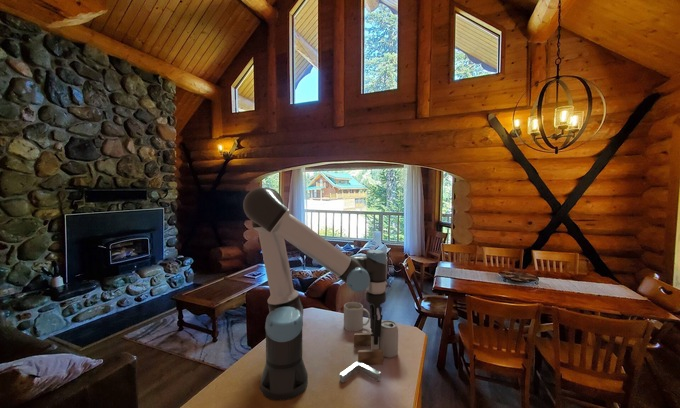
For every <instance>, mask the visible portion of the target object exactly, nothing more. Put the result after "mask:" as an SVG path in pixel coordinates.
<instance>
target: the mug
mask: <svg viewBox="0 0 680 408" xmlns="http://www.w3.org/2000/svg"><path fill="white" fill-rule="evenodd" d="M364 312H365V313H366V314H367V316H368V319H367V321H366V322H364ZM369 323H370V311H368V309H366V308H364V306H363V304H361V303H360V302H356V301H351V302H346V303H344V305H343V328H344V329H345V330H346V331H348V332H358V331H361V330H362V329H363V327H365V326H367V325H368V324H369Z"/></svg>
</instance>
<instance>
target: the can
mask: <svg viewBox="0 0 680 408" xmlns="http://www.w3.org/2000/svg"><path fill="white" fill-rule="evenodd" d="M379 349H382V350H383V358H384V357H385V358H386V359H391V358H394V357H396V356H397V355H398V354H399V353H398V352H399V327H398V326H397V323H396V322H395V321H393V320H389V319H388V320H387V319H385V320H382V322H381V336H380V337H379Z"/></svg>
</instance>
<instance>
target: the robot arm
mask: <svg viewBox="0 0 680 408" xmlns="http://www.w3.org/2000/svg"><path fill="white" fill-rule="evenodd" d="M280 194H281V193H279V192H278V191H276V190H275V189H274V188H270V187H256V188H254V189H252V190H249V192H247V194H246V196H245V197H244V199H243V203H242V204H243V205H242V206H243V211H244V214H245V215H246V217H247V218H248V219H249V220H251V225H252V229H253V230H255V231H257V233H258V237H259V243H260V247H261V253H262V258H263V264H264V268H265V269H264V270H265V273H266V274H265V275H266V278H267V283H268V288H269V292H270V293H269V294H270V295H269V297H268V298H267V304H268V305H267V306H268V311H269V313H268V314H267V316H266V318H265V325H264V329H265V365H264V368H263V372H262V374H261V378H260V391H261V394H262V393H263V394H262V395H263V397H265V396H266V397H265V398H267V399H270V400H272V401H280V402H281V401H288V400H292V399H295V398H296V397H298V396H299V395H302V393H304V391H305V390H306V389H307V387H308V384H309V379H308V378H309V377H308V371H307V369H306V365H305V362H304V360H303V327H304V307H303V304H302V301H301V299H300V293H299V291H298V290H296V289H295V288H294V283H293V277H292V274H291V272H292V271H291V267H290V262H289V258H288V251H287V246H286V241H287V242H288V243H289V244H291V245H292V246H293V247H295V248H296V249H298V250H299V251H301V252H302V253H303V254H305V255H306V256H307V257H309V258H311V259H312V260H313V261H314V262H315V263H318V264H319V265H320V266H321V267H323V268H324V269H326V270H327V271H329V272H330V273H332V274H333V276H334V275H335V276H336V277H337V278H338V279H340V281H342V282H344V283H345V284H346V285H347V287H348V288H349V290H351V291H353V292H355V293H362V292H364V291H365V300H366V302H367V303H369V314H370V320H369V323H370V324H369V325H370V326H369V328H370V333H371V346H370V350H379V337H380V336H381V322H382V321H383V314H382V311H383V310H382V306H381V305H382V304H384V303H385V302H386V297H387V295H386V294H387V293H386V289H387V288H386V287H387V285H388V282H387V265H388V264H387V253H386V252H385V251H384V250H381V249H369V250H367V251H366V254H365V255H364V256H362V255H360V256H356V255H354V256H353V255H351V256H348V255H347V254H346V253H344V252H342V251H341V250H340V249H339V248H338V247H336V246H334V245H333V244H332V243H330V242H329V241H328V240H326V239H325V237H323V236H321V235H320V234H319V233H317V232H316V231H315V230H313V229H312V228H310V227H309V226H307V225H306V223H303V222H302V221H301V220H300V219H298V218H297V217H296V216H294V215H293V214H292V213H291V212H290V208H288V207H287V206H286V205H284V202H283V201H284V200H283V198H282V196H281V195H280ZM285 240H286V241H285Z"/></svg>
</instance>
